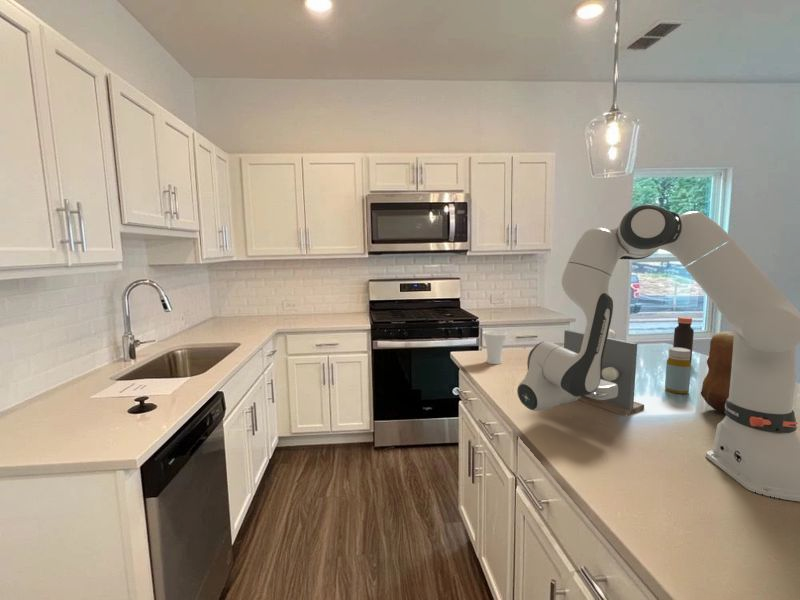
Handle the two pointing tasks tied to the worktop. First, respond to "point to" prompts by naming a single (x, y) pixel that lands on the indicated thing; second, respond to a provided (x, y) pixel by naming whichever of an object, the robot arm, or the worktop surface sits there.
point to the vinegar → (684, 334)
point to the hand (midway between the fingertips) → (596, 377)
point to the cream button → (610, 373)
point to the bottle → (678, 370)
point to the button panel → (623, 360)
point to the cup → (494, 345)
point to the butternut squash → (718, 371)
